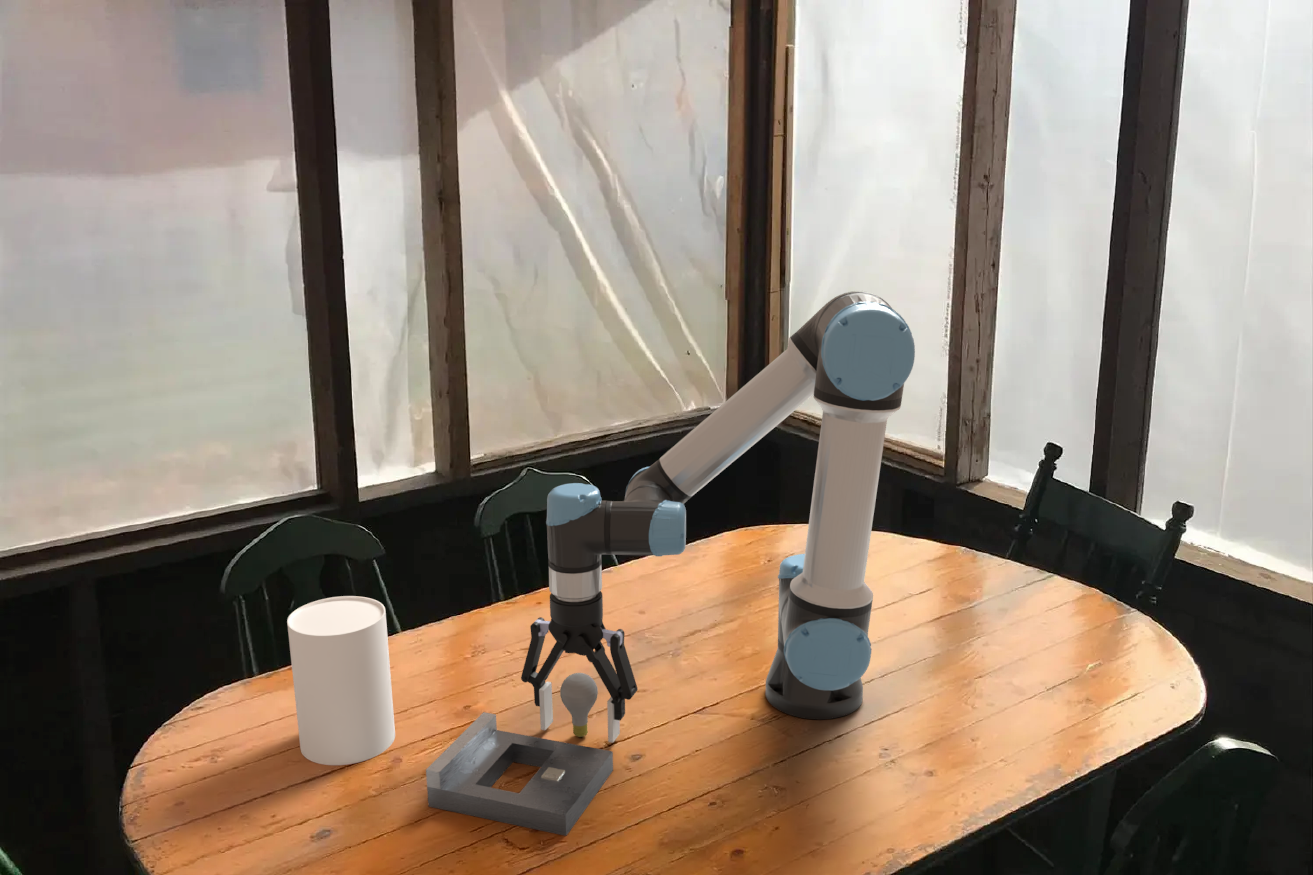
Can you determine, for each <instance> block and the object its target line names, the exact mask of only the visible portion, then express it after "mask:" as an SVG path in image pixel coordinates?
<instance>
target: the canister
mask: <svg viewBox="0 0 1313 875" xmlns="http://www.w3.org/2000/svg"><path fill="white" fill-rule="evenodd" d="M286 620H287V621H286V623H287V632H288V642H289V643H288V644H289V651H290V652H289V653H290V662H291V670H292V681H293V690H294V700H295V709H296V710H295V711H296V720H297V729H298V738H299V739H298V740H299V748H300V752H301V754H302V756H304V758H305V759H307V760H308V761H311V762H313V763H316V764H319V765H326V766H345V765H352V764H357V763H361V762H364V761H368V760H370V759H373V758H375V757H377V756H379V755H381V754H382V753H384V752H385V751H386V750H388V749H389V747H391V746H392V744H393V743H394V741H395V740H396V739H395V738H396V729H395V716H394V714H395V713H394V702H393V691H392V690H393V689H392V676H391V665H390V664H391V662H390V654H389V653H390V651H389V650H390V649H389V639H388V627H387V626H388V625H387V613H386V607H385V606H384V604H383V603H382V602H380V601H379V600H376V599H374V598H370V597H365V596H356V595H343V596H342V595H341V596H332V597H327V598H322V599H318V600H315V601H311V602H308V603H307V604H304V605H302V606H299V607H298V608H297V609H295V610H294V611H292V612H291V613H290V614H289V615H288V617H287V619H286Z"/></svg>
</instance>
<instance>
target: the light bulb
mask: <svg viewBox="0 0 1313 875" xmlns="http://www.w3.org/2000/svg"><path fill="white" fill-rule="evenodd" d="M559 692H560V693H559V694H560V699H561V702H562V704H563V706H565V708H566V709H567V711H568V712H569V714H570V715H571V723H572V731H573V733H572V734H573V735H574V736H575V737H579V738H583V737H585V736H586V735H587V734H588V722H589V721H588V716H589V714H590V712H591V710H592V708H593V707H594V705H595V703H596V702H597V698H598V694H599V691H598V685H597V683H596V681H595V680H594V678H593V677H591V675H589V674H588V673H587V674H586V673H583V672H576V673H572V674H570V675H568V676H567V677H565V679H564V680H563V681H562V683H561V686H560V690H559Z"/></svg>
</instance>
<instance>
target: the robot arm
mask: <svg viewBox="0 0 1313 875" xmlns="http://www.w3.org/2000/svg"><path fill="white" fill-rule="evenodd" d="M787 341H788V342H787V348H786V350H784V351H783V352H782V353H781V354H780V355H779V356H777V357H776V358H775V359H774V360H773V361H771V362H770V363H769V364H768V365H766V366H765V367H764V368H763V369H762V370H760V372H759V373H757V374H756V375H755V376H754V377H753V378H751V379H750V380H749V381H748V382H747V383H746V384H744V385H743V386H742V387H741V388H740V389H738V391H737V392H735V393H734V394H733V395H731V397H729V398H728V399H727V400H726V401H724V403H722V404H720V406H719V407H717V408H716V409H715V410H714V411H713V412H712V413H711V414H710V415H708V416H707V417H706V418H705V419H704V420H702V421H701V422H700V423H699V424H698V425H697V426H696V427H694V428H693V429H692V430H691V431H689V432H688V433H687V434H686V435H685V436H683V437H682V438H681V439H680V440H679V441H678V442H677V443H676V444H675V445H674V446H671V448H670V449H668V450H667V451H666V452H665V453H663V455H662V456H661V457H660V458H659V459H658V460H656V461H654V463H653V464H651V465H650V466H646V467H642V468H641V469H638V470H637V471H636V472H635V473H634V474H633V475H632V477H631V478H630V480H629V481H628V484H627V485H626V488H625V494H624V495H625V496H624V499H623V500H622V501H621V500H620V501H618V500H617V501H614V500H613V501H612V500H602V497H601V492H600V490H599V488H598V487H597V486H595V485H593V484H589V483H588V484H585V483H581V482H580V483H579V482H573V483H564V484H561V485H558V486H555V487H554V488H552V489H551V490H550V492H549V493H548V495H547V498H546V502H547V503H546V504H547V505H546V521H545V524H546V533H547V535H546V536H547V538H546V539H547V554H548V588H549V589H548V590H549V592H550V594H549V611H550V612H549V614H550V620H545V618H543V617H540V616H539V617H538V618H537V619H536V620H534V622H533V623H531V625H530V643H529V647H528V649H527V652H526V656H525V657H526V658H525V661H524V664H523V670H522V673H521V676H520V680H521V681H522V682H523V683H528V684H531V685H532V687H533V694H534V695H533V696H534V697H533V698H534V700H533V702H534V705H535V707H539V717H540V719H539V721H540V730H542V731H546V730H547V729H548V728H549V727H550V726H551V725H552V723H553V722H554V715H553V708H554V707H553V691H552V690H553V687H552V686H553V685H552V684H553V683H552V682H551V681H546V680H547V679H549V676H550V674H551V673H552V671H553V669H554V668H555V666H556V665H557V663H558V661H559V660H560V657H562V655H563V652H564V653H565V654H577V655H579V656H585V657H586V659H587V661H588V662H589V663H592V665H593V668H594V669H595V670H596V673H597V674H598V676H599V678H600V679H601V681H602V683H603V685H604V686H605V688H606V690H607V692H608V693H609V695H610V698H609V699H607V701H606V702H607V703H606V704H607V707H606V708H607V709H606V710H607V742H608V743H612V744H613V743H614V742H615V741H616V740H617V738H618V737H619V736H620V734H621V730H620V728H621V727H620V726H621V724H620V723H621V722H620V721H621V720H622V719H623V718H624V717H625V715H626V700H627V701H628V700H631V699H632V698H633V697H634V695H635V694H636V692H637V691H638V686H637V683H636V678H635V676H634V672H633V669H632V666H631V663H630V659H629V657H628V653H627V650H626V645H625V631H624V630H623V629H622V628H618V629H617V630H610V629H606V627H605V625H604V622H603V620H604V619H603V617H604V606H603V604H604V602H603V601H604V600H603V598H604V597H603V592H602V589H603V571H602V570H603V569H602V555H610V556H612V555H618V556H620V555H622V556H655V557H663V556H674V555H675V556H676V555H680V554H683V552H685V550H686V547H687V546H686V544H687V543H686V541H687V540H686V538H687V510H686V507H685V506H686V505H685V503H686V502H688V500H690V499H691V498H692V497H693V496H695V494H697V492H699V491H700V490H702V489H703V488H704V487H705V486H706V485H708V483H709V482H711V481H713V479H714V478H716V477H717V476H718V475H720V473H722V472H723V471H724V470H726V468H728V467H729V466H730V465H732V463H734V462H735V461H736V460H737V459H739V458H740V457H741V456H742V455H743V454H745V453H746V452H747V451H748V450H750V449H751V447H753V446H754V445H755V444H757V443H758V442H759V441H760V440H762V438H764V437H765V436H766V435H767V434H769V433H770V432H771V431H772V430H774V428H776V427H777V426H778V425H779V424H780V423H782V422H783V421H785V419H786V418H788V417H789V416H790V415H791V414H792V413H794V412H795V411H796V410H797V409H798V408H799V407H801V406H802V405H804V404H805V402H807V401H808V400H809V399H810V398H812V397H813V399H814V400H815V402H816V403H817V404H818V405H819V407H821V410H822V415H821V423H820V425H821V426H820V432H819V440H818V448H817V456H816V464H815V473H814V478H813V479H814V480H813V488H812V495H811V503H810V511H809V512H810V513H809V520H808V526H807V527H808V528H807V535H806V536H807V537H806V543H805V544H806V545H805V552H804V553H799V554H794V555H790V556H788V557H786V558H784V559H783V560H782V561H781V562H780V564H779V570H778V571H779V572H778V575H777V579H778V616H777V618H778V620H777V621H778V622H777V649H776V652H775V655H774V657H773V660H772V662H771V665H770V668H769V671H768V673H767V674H766V675H767V676H766V680H765V698H766V700H767V701H768V703H769V704H770V705H771V706H772V707H774V708H775V709H777V710H778V711H779V712H782V713H784V714H787V715H790V716H792V717H793V716H794V717H797V718H801V719H807V720H809V719H810V720H829V719H830V720H831V719H837V718H841V717H845V716H847V715H851V714H852V713H853V712H855V711H856V710H858V709H859V708H860V707H861V705H862V703H863V698H864V696H863V695H864V693H863V692H864V686H863V681H862V677H864V674H865V673H866V672H867V670H868V668H869V665H870V663H871V656H872V647H871V646H872V644H871V641H870V638H869V627H870V621H871V615H872V606H873V600H874V592H873V590H871V588H870V587H869V585H868V584H867V583H866V582H865V577H866V573H867V572H866V571H867V570H866V569H867V565H868V564H867V562H868V556H869V551H870V550H869V549H870V542H871V535H872V528H873V521H874V513H875V508H876V499H877V492H878V485H879V479H880V473H881V472H880V471H881V467H882V466H881V465H882V459H883V451H884V445H885V444H884V443H885V437H886V430H887V424H888V419H889V418H890V417H891V416H892V415H893V414H894V413H897V411H899V410H900V409H901V407H902V406H901V405H902V400H903V395H904V394H903V393H904V388H905V387H904V386H905V383H906V381H907V380H908V378H909V377H910V375H911V373H912V370H913V367H914V363H915V357H916V350H915V349H916V348H915V346H916V345H915V341H914V338H913V335H912V331H911V328H910V326H909V324H908V323H907V322H906V320H905V319H904V318H903V317H902V315H901V314H899V313H898V311H896V310H895V309H893V307H891V305H890V304H889V303H888V302H887V301H886V300H885V299H884V298H882V297H880V296H878V295H877V294H874V293H872V292H868V291H863V290H861V291H860V290H856V291H855V290H854V291H848V292H844V293H842V294H839V295H837V296H834V298H832V299H830V300H829V301H828V302H826V303H825V304H824V305H823V306H822V307H821V308H820V309H819V310H818V311H817V312H816V313H815V314H814V315H813V316H811V318H809V319H808V320H807V321H806V323H804V324H803V325H801V327H800V328H799V329H797V330H796V331H795V332H794V333H793V334H792V335H790V337H788V340H787ZM549 632H550V634H551V635H552V637H553V639H554V640H555V641H556V642H555V643H554V645H553V647H552V648H551V650H550V652H549V654H548V656H547V657H546V658H545V660H544V663H543V664H542V666H541V668H540V669H539V670H538V672H537V668H538V664H539V661H540V658H541V654H542V649H543V646H544V642H545V639H546V635H547V634H548V633H549ZM603 639H604V640H605V641H606V646H607V647H609V652H610V656H611V658H612V659H611V660H612V663H613V664H612V663H611V661H610V659H609V657H608V656H607V654H606V648H605V647H604V644H603V643H602V640H603Z"/></svg>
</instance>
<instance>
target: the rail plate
mask: <svg viewBox="0 0 1313 875" xmlns="http://www.w3.org/2000/svg"><path fill="white" fill-rule="evenodd" d="M497 727H498V726H497V714H494V713H491V712H490V713H489V712H485V711H484V712H482V713H481V714H480V715H479V716H478V717H477V718H476V719H475V720H474V721H473V722H472V723H471V724H470V725H469V726H468V727H467V728H466V729H465V730H464V731H463V732H462V733H461V734H460V735H459V736H458V737H457V738H456V739H455V740H454V741H453V742H452V743H451V744H450V745H449V746H447V748H446V749H445V750H444V751H443V752H442V753H441V754H440V755H439V756H438V757H437V758H436V759H435V760H434V761H433V762H432V763H431V764H430V765H429V766H428V767H426V769H425V776H426V790H427V792H426V793H427V801H428V802H427V804H428V807H430V808H435V809H439V810H442V811H443V810H444V811H448V812H449V811H450V812H453V813H457V814H463V815H466V816H472V817H477V818H479V819H480V818H481V819H484V820H485V819H486V820H490V821H495V822H499V823H504V824H509V825H515V826H518V827H523V828H527V829H533V830H538V831H542V832H547V833H551V834H556V835H561V836H565V837H566V836H568V835H569V833H570V832H571V830H572V829H573V827H574V826H575V825H576V824H577V822H578V820H579V819H580V818H581V816H582V814H584V812H585V810H586V809H587V808H588V806H589V805H590V804H591V802H592V801H593V800H594V798H595V796H596V795H597V794H598V792H599V791H600V789H601V788H602V787H603V786H604V784H605V782H606V781H607V780H608V778H609V777H610V775H611V774H612V773H613V772H614V756H613V755H614V754H613V753H614V752H613V751H612V750H608V749H602V748H596V747H591V746H585V745H581V744H575V743H569V742H564V741H557V740H553V739H547V738H542V737H538V736H531V735H526V734H520V733H516V732H509V731H505V730H504V731H503V730H499V729H498V728H497ZM513 763H516V764H521V765H528V766H533V767H538V768H539V769H538V770H537V771H536V773H535V774H533V776H532V777H531V778H530V780H529V781H528V782H527V783H526V784H525V786H523V788H522V789H521V790H520V791H519V792H514V791H510V790H505V789H504V790H503V789H500V788H494V787H493V785H494V784H495V783H496V782H497V781H498V780H499V779H500V778H501V777H502V775H504V773H505V772H506V771H507V770H508V769H509V767H510V766H511V765H512V764H513Z"/></svg>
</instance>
